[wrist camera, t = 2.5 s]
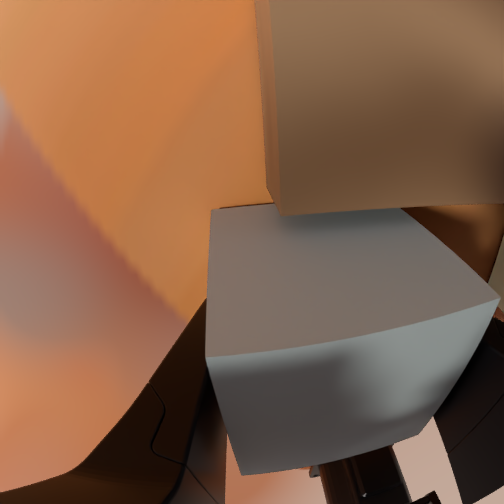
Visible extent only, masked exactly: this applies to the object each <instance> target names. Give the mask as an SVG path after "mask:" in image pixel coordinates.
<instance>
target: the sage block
mask: <svg viewBox="0 0 504 504" xmlns="http://www.w3.org/2000/svg"><path fill="white" fill-rule="evenodd" d="M488 285H489V286H490V287H491V288H492V289H493V290H494V291H495V292H496V293H497V294H498V295H499V296H500V297H501V299H500V301H499V303H498V307H499V308H500V309H501V311H502V312H503V313H504V235H503V239H502V243H501V246H500V249H499V252H498V256H497V259H496V262H495V265H494V268H493V271H492V274H491V276H490V279H489V282H488Z"/></svg>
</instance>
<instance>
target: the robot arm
mask: <svg viewBox="0 0 504 504" xmlns="http://www.w3.org/2000/svg"><path fill="white" fill-rule="evenodd" d="M206 307H207V298H206V299H205V300H204V302H203V303H202V305H201V306H200V307H199V309H198V310H197V312H196V313H195V315H194V316H193V318H192V319H191V320H190V322H189V323H188V325H187V326H186V328H185V329H184V331H183V332H182V333H181V335H180V336H179V338H178V339H177V341H176V342H175V344H174V345H173V346H172V348H171V349H170V351H169V352H168V354H167V355H166V357H165V358H164V360H163V361H162V363H161V364H160V365H159V367H158V368H157V370H156V371H155V373H154V374H153V376H152V377H151V379H150V380H149V383H147V384H146V386H145V387H144V389H143V390H142V391H141V393H140V394H139V396H138V397H137V398H136V400H135V401H134V403H133V404H132V405H131V407H130V408H129V409H128V411H127V412H126V413H125V414H124V415H123V417H122V418H121V419H120V420H119V421H118V423H117V424H116V425H115V426H114V427H113V428H112V429H111V431H110V432H109V433H108V434H107V435H106V436H105V437H104V439H103V440H102V441H101V442H100V443H99V444H98V445H97V446H96V448H95V449H94V450H93V451H92V452H91V453H90V454H89V456H88V457H87V458H86V459H85V460H84V461H83V462H81V463H80V464H79V465H78V466H77V467H75V468H74V469H72V470H71V471H69V472H67V473H65V474H62V475H59V476H56V477H53V478H50V479H47V480H44V481H41V482H37V483H34V484H31V485H28V486H24V487H20V488H17V489H13V490H9V491H5V492H0V504H225V479H226V448H227V431H226V427H225V424H224V421H223V418H222V414H221V411H220V408H219V405H218V401H217V398H216V394H215V391H214V387H213V384H212V380H211V377H210V373H209V370H208V366H207V362H206V358H205V344H206ZM433 417H434V419H435V422H436V424H437V427H438V430H439V432H440V435H441V437H442V440H443V443H444V446H445V449H446V452H447V453H448V458H449V461H450V464H451V467H452V470H453V473H454V476H455V479H456V483H457V486H458V489H459V493H460V496H461V500H462V503H463V504H473V503H475V502H477V501H479V500H480V499H482V498H484V497H485V496H487V495H489V494H491V493H493V492H494V491H496V490H497V489H499V488H501V487H502V486H504V322H502V321H500V320H498V319H497V318H493V317H492V319H491V321H490V323H489V325H488V327H487V329H486V331H485V333H484V335H483V337H482V339H481V341H480V343H479V344H478V346H477V348H476V350H475V352H474V353H473V355H472V357H471V359H470V360H469V362H468V364H467V366H466V367H465V369H464V371H463V372H462V374H461V375H460V377H459V379H458V380H457V382H456V383H455V385H454V386H453V388H452V390H451V391H450V393H449V394H448V395H447V397H446V398H445V400H444V401H443V403H442V404H441V406H440V407H439V408H438V410H437V411H436V412H435V414H434V415H433ZM393 445H394V444H391V445H388V446H385V447H382V448H379V449H376V450H372V451H369V452H366V453H362V454H359V455H355V456H352V457H348V458H344V459H340V460H336V461H332V462H327V463H323V464H318V465H313V466H311V467H310V471H309V476H310V477H311V478H313V477H318V476H320V477H321V481H322V485H323V489H324V493H325V498H326V502H327V504H441V502H440V500H439V498H438V496H437V494H436V492H435V491H432V492H430V493H428V494H427V495H425V496H424V497H423V498H420V499H418V500H416V501H414V502H412V499H411V496H410V494H409V491H408V488H407V485H406V482H405V480H404V477H403V475H402V472H401V469H400V466H399V464H398V461H397V458H396V456H395V453H394V451H393V448H392V446H393Z"/></svg>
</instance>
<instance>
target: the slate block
mask: <svg viewBox="0 0 504 504" xmlns="http://www.w3.org/2000/svg"><path fill="white" fill-rule="evenodd" d="M500 299H501V297H500V296H499V295H498V294H497V293H496V292H495V291H494V290H493V289H492V288H491V287H490V286H489V285H488V284H487V283H486V282H485V281H484V280H483V279H482V278H481V277H480V276H479V275H478V274H477V273H476V272H475V271H474V270H473V269H472V268H470V267H469V266H468V265H467V264H466V263H465V262H464V261H463V260H462V259H461V258H460V257H458V256H457V255H456V254H455V253H454V252H453V251H452V250H451V249H449V248H448V247H447V246H446V245H445V244H444V243H443V242H441V241H440V240H439V239H438V238H437V237H436V236H434V235H433V234H432V233H431V232H430V231H428V230H427V229H426V228H425V227H423V226H422V225H421V224H420V223H418V222H417V221H416V220H415V219H413V218H412V217H411V216H410V215H408V214H407V213H406V212H405V211H403V210H402V209H401V208H385V209H369V210H354V211H340V212H327V213H315V214H302V215H291V216H280V213H279V211H278V209H277V207H276V205H275V204H264V205H253V206H243V207H233V208H223V209H214V210H211V223H210V240H209V259H208V280H207V307H206V344H205V358H206V362H207V366H208V370H209V373H210V377H211V380H212V384H213V387H214V391H215V394H216V398H217V401H218V405H219V408H220V411H221V414H222V418H223V421H224V424H225V427H226V431H227V434H228V437H229V440H230V443H231V446H232V449H233V452H234V455H235V458H236V461H237V464H238V466H239V470H240V472H241V475H253V474H262V473H270V472H278V471H284V470H291V469H297V468H303V467H308V466H313V465H318V464H323V463H327V462H332V461H336V460H340V459H344V458H348V457H352V456H355V455H359V454H362V453H366V452H369V451H372V450H376V449H379V448H382V447H385V446H388V445H391V444H394V443H397V442H399V441H402V440H405V439H407V438H410V437H413V436H415V435H418V434H419V433H420V432H421V431H422V429H423V428H424V427H425V426H426V424H427V423H428V422H429V420H430V419H431V417H432V416H433V415H434V414H435V412H436V411H437V410H438V408H439V407H440V406H441V404H442V403H443V401H444V400H445V398H446V397H447V395H448V394H449V393H450V391H451V390H452V388H453V386H454V385H455V383H456V382H457V380H458V379H459V377H460V375H461V374H462V372H463V371H464V369H465V367H466V366H467V364H468V362H469V360H470V359H471V357H472V355H473V353H474V352H475V350H476V348H477V346H478V344H479V343H480V341H481V339H482V337H483V335H484V333H485V331H486V329H487V327H488V325H489V323H490V321H491V319H492V317H493V314H494V312H495V310H496V308H497V306H498V303H499V301H500Z"/></svg>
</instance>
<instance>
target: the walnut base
mask: <svg viewBox="0 0 504 504" xmlns="http://www.w3.org/2000/svg"><path fill="white" fill-rule="evenodd" d="M255 12H256V25H257V38H258V52H259V66H260V80H261V96H262V112H263V128H264V146H265V164H266V183H267V189H268V191H269V193H270V195H271V197H272V199H273V201H274V203H275V205H276V207H277V209H278V211H279V213H280V216H291V215H302V214H315V213H327V212H340V211H354V210H369V209H385V208H402V207H421V206H443V205H469V204H504V0H255Z"/></svg>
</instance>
